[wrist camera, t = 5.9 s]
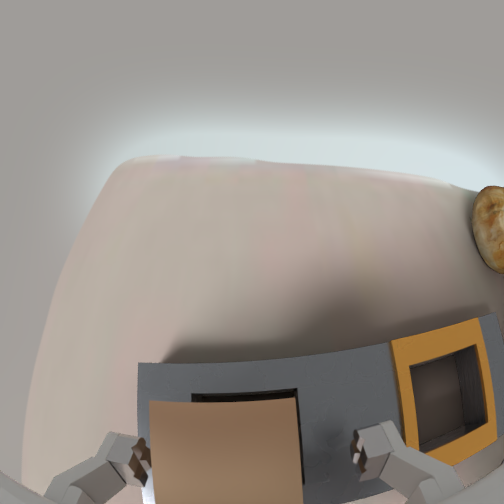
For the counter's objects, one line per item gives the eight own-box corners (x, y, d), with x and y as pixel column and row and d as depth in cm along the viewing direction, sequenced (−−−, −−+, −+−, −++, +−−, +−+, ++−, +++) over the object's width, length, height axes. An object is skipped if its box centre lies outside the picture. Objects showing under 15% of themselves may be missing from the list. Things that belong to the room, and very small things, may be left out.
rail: (494, 428, 11) (517, 425, 9) (159, 495, 12) (141, 506, 9) (477, 323, 16) (497, 310, 14) (154, 369, 17) (136, 361, 14)
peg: (286, 464, 13) (304, 525, 4) (218, 467, 13) (158, 522, 5) (281, 404, 15) (295, 397, 7) (215, 408, 15) (148, 400, 7)
